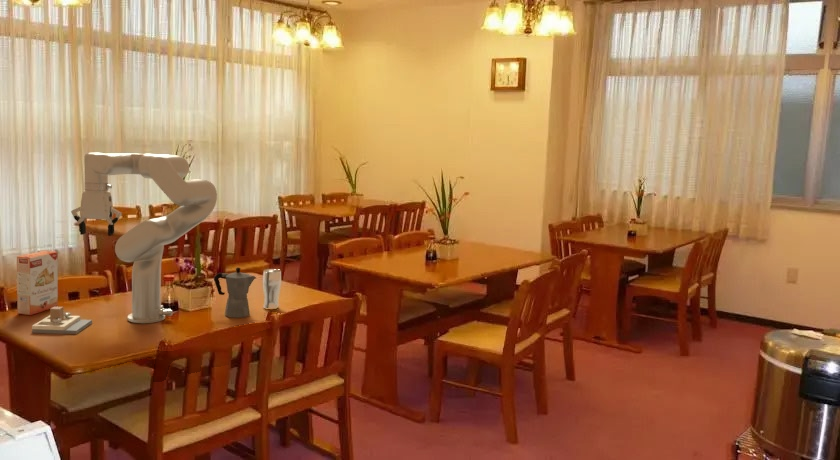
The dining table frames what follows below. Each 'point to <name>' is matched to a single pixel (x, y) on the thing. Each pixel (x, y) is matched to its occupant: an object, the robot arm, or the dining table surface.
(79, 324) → the board
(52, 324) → the panel
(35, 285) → the cracker box
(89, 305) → the dining table surface
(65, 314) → the bosses
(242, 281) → the coffeepot
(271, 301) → the beer glass
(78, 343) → the dining table surface
